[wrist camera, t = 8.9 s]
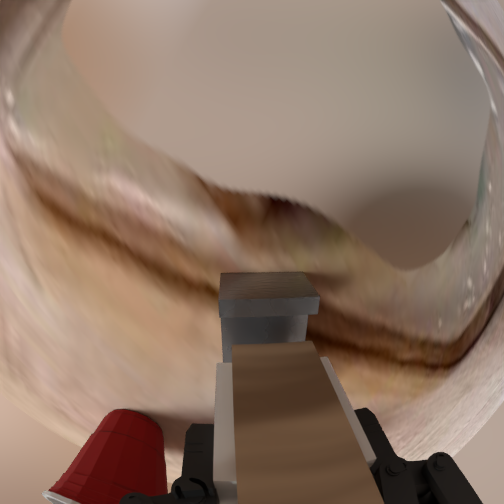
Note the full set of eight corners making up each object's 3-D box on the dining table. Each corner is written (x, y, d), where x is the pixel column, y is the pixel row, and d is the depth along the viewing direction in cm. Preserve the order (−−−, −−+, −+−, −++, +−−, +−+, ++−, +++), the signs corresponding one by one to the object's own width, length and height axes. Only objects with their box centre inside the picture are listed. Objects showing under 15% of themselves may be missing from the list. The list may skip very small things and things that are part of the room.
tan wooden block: (231, 344, 13) (241, 553, 3) (311, 340, 13) (392, 521, 4) (233, 405, 14) (243, 565, 5) (302, 400, 14) (347, 549, 5)
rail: (220, 273, 17) (218, 299, 13) (302, 271, 17) (319, 296, 13) (231, 454, 22) (232, 482, 19) (280, 452, 22) (285, 479, 19)
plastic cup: (71, 418, 20) (34, 502, 8) (104, 370, 18) (48, 489, 7) (157, 465, 22) (145, 550, 11) (211, 431, 21) (210, 547, 9)
